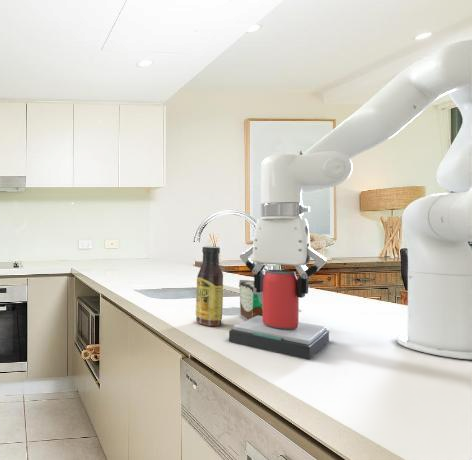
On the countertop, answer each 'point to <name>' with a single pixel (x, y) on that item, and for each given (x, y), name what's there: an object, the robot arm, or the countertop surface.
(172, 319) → the countertop surface
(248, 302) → the food container
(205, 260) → the sauce bottle
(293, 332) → the scale
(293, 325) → the beer can
